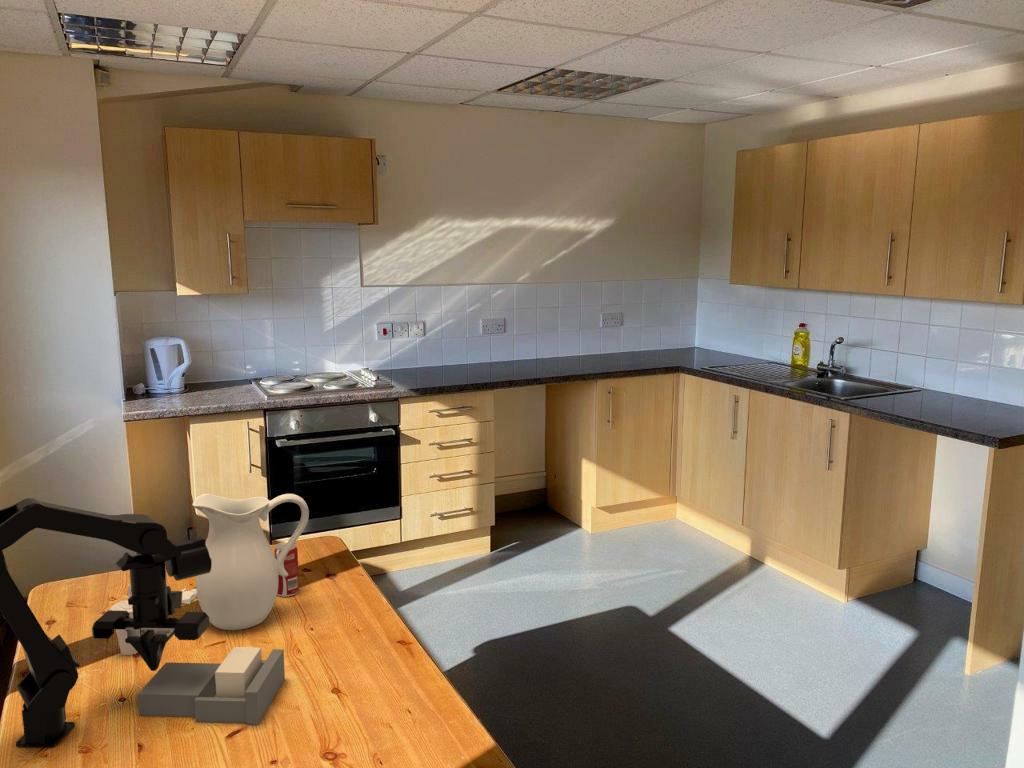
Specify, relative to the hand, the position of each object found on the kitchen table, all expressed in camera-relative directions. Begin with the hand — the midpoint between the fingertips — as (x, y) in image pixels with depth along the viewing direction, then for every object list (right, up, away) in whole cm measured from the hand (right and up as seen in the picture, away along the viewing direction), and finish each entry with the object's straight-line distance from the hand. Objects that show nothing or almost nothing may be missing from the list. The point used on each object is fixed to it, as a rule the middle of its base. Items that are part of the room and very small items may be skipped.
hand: (154, 669), depth 146 cm
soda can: (+11, +2, +46) cm, 47 cm away
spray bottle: (-6, +2, +51) cm, 51 cm away
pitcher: (+8, 0, +33) cm, 34 cm away
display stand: (+10, -6, +1) cm, 12 cm away
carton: (+13, -2, 0) cm, 13 cm away
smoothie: (-13, -3, +18) cm, 22 cm away
